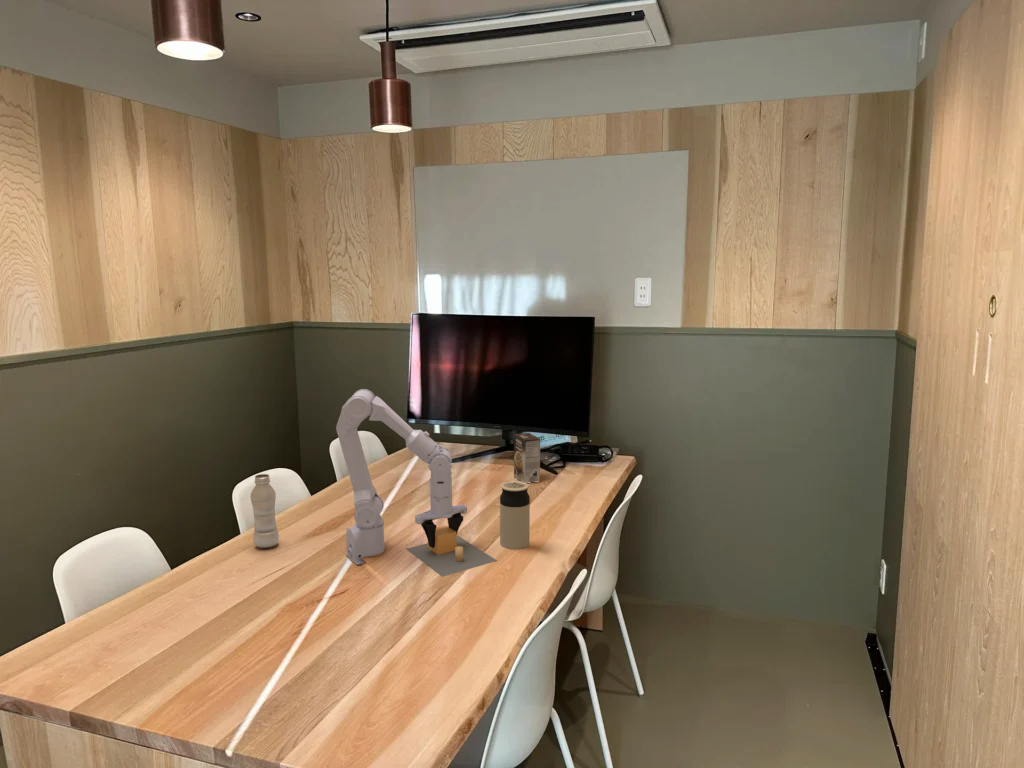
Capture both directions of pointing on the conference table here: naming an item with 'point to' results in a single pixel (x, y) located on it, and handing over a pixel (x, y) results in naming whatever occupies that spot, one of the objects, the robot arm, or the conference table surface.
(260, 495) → the plastic bottle
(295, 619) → the conference table surface
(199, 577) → the conference table surface
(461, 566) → the board
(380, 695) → the conference table surface
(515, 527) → the travel mug
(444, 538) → the wooden toy cube
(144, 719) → the conference table surface
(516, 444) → the coffee box
